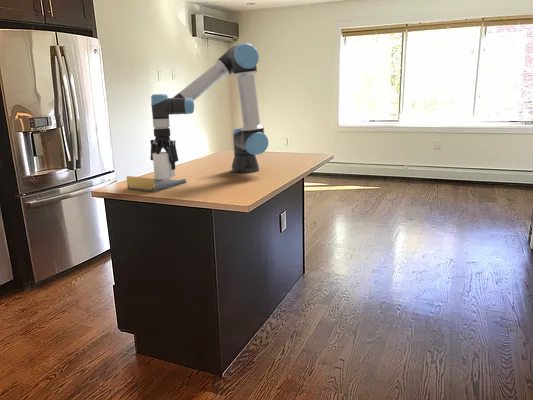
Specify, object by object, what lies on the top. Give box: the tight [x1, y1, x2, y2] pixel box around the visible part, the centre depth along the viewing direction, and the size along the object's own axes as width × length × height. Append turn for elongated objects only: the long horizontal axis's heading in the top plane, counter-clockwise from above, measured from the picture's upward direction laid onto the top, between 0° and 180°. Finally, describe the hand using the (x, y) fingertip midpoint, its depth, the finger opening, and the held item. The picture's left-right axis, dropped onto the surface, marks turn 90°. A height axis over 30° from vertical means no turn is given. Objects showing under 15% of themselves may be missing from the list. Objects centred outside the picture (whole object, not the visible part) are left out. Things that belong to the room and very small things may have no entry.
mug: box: [152, 151, 173, 180], centre depth 206 cm, size 12×8×12 cm
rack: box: [126, 175, 187, 193], centre depth 203 cm, size 16×22×6 cm
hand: (165, 175), depth 207 cm, fingers closed on mug, 8 cm apart
